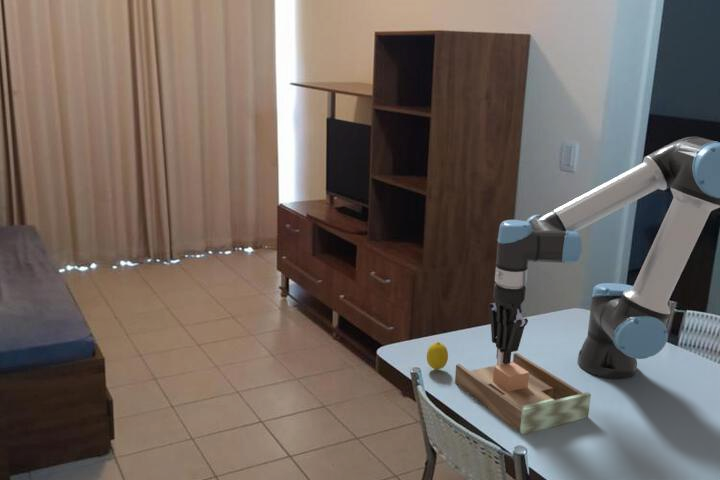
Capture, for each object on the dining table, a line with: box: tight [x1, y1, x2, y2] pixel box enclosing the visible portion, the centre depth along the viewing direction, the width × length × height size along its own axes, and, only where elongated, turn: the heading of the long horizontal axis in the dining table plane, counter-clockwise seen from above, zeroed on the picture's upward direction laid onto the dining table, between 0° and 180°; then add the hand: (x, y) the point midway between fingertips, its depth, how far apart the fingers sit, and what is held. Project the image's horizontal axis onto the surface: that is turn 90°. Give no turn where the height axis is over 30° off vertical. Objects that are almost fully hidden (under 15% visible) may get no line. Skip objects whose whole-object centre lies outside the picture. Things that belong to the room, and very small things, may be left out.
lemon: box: [426, 341, 449, 371], centre depth 185 cm, size 6×6×8 cm
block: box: [493, 363, 529, 392], centre depth 174 cm, size 6×6×4 cm
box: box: [454, 352, 592, 435], centre depth 171 cm, size 19×27×6 cm
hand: (502, 373), depth 177 cm, fingers closed
